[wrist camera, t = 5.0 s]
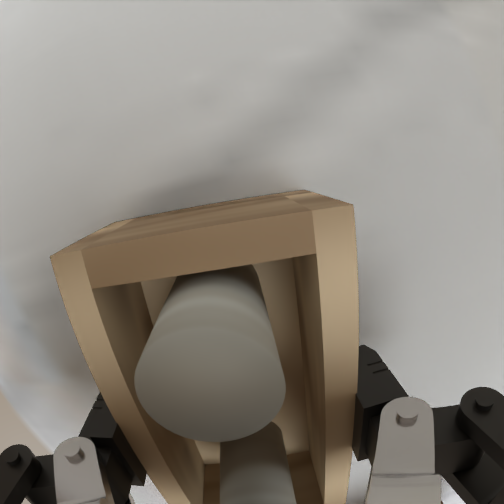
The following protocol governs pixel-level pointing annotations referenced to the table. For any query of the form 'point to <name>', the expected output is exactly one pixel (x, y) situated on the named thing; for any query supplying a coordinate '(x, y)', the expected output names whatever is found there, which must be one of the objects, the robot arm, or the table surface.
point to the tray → (294, 309)
